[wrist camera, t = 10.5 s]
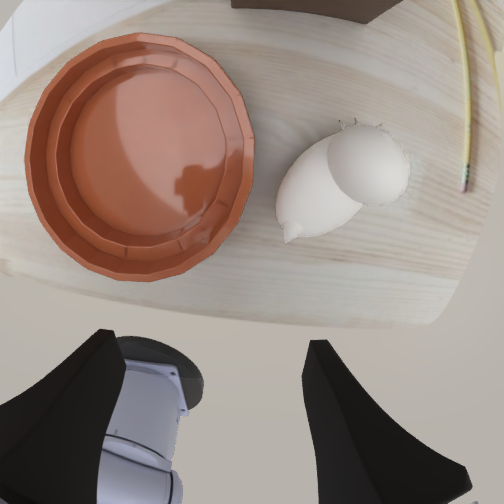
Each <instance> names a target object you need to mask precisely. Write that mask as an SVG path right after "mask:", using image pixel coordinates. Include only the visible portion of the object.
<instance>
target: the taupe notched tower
mask: <svg viewBox="0 0 504 504" xmlns="http://www.w3.org/2000/svg"><path fill="white" fill-rule="evenodd" d="M401 1H403V0H231V6H232V8H263V9H278V10H289V11H298V12H306V13H313V14H320V15H326V16H331V17H336V18H341V19H346V20H351V21H355V22H359V23H363V24H367V23H369V22H370V21H372V20H373V19H375V18H376V17H378V16H379V15H381V14H382V13H384V12H385V11H387V10H388V9H390V8H392V7H393V6H395V5H396V4H398V3H400V2H401Z"/></svg>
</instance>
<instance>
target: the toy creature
mask: <svg viewBox="0 0 504 504" xmlns="http://www.w3.org/2000/svg"><path fill="white" fill-rule="evenodd" d="M339 122H340V126H341V131H340V132H338V133H337V134H333V135H330V136H328V137H326V138H324V139H322V140H320V141H318V142H316V143H315V144H313V145H312V146H311V147H310V148H308V149H307V150H306V151H305V152H304V153H302V154H301V155H300V156H299V157H298V158H297V160H296V161H295V162H294V163H293V165H292V166H291V167H290V168H289V170H288V171H287V172H286V174H285V176H284V178H283V180H282V182H281V184H280V186H279V188H278V193H277V198H276V202H275V211H276V218H277V221H278V223H279V224H280V226H281V227H282V229H283V230H284V239H285V244H286V243H288V242H289V241H291V240H293V239H294V238H296V237H309V238H311V237H315V236H319V235H323V234H326V233H328V232H330V231H332V230H334V229H336V228H338V227H340V226H342V225H343V224H344V223H346V222H347V221H348V220H349V219H351V218H352V217H353V216H354V215H355V214H357V212H358V211H359V210H360V209H361V208H362V207H363V205H364V204H365V205H370V206H383V205H386V204H389V203H392V202H394V201H395V200H397V199H398V198H399V197H400V196H401V195H402V194H403V192H404V191H405V189H406V187H407V184H408V181H409V172H410V169H411V165H410V161H409V159H408V157H407V156H406V155H405V153H404V151H403V149H402V148H401V146H400V145H399V143H398V142H397V141H396V140H395V139H394V138H393V137H392V136H391V135H390V134H389V132H387V131H385V130H383V129H380V128H381V126H382V124H383V123H382V124H380V125H378V126H376V127H374V126H368V125H361V124H360V125H359V123H358V121H357V120H356V118H355V125H354V126H349V127H345V125H344V124H343V123H342V122H341V121H340V120H339Z"/></svg>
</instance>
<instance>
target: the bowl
mask: <svg viewBox="0 0 504 504" xmlns="http://www.w3.org/2000/svg"><path fill="white" fill-rule="evenodd" d="M254 150H255V138H254V133H253V129H252V126H251V123H250V119H249V116H248V113H247V110H246V106H245V103H244V100H243V97H242V95H241V93H240V91H239V90H238V89H237V87H236V86H235V85H234V83H233V82H232V81H231V79H230V78H229V77H228V75H227V74H226V73H225V72H224V70H223V69H222V68H221V67H220V65H219V64H218V63H217V62H216V60H214V59H213V58H212V57H210V56H209V55H207V54H205V53H204V52H202V51H200V50H199V49H197V48H195V47H193V46H192V45H190V44H188V43H186V42H185V41H183V40H181V39H178V38H175V37H169V36H162V35H155V34H148V33H133V34H128V35H124V36H119V37H115V38H111V39H107V40H103V41H101V42H98V43H97V44H95V45H93V46H91V47H90V48H88V49H87V50H85V51H83V52H82V53H80V54H79V55H77V56H76V57H74V58H73V59H71V60H70V61H68V62H67V63H66V64H65V65H64V67H63V68H62V69H61V70H60V71H59V72H58V74H57V75H56V76H55V77H54V78H53V79H52V81H51V82H50V83H49V84H48V86H47V87H46V88H45V89H44V91H43V93H42V95H41V97H40V99H39V102H38V104H37V106H36V108H35V111H34V113H33V116H32V118H31V120H30V124H29V128H28V134H27V141H26V148H25V157H24V158H25V159H24V161H25V171H26V179H27V186H28V192H29V195H30V198H31V201H32V203H33V206H34V208H35V210H36V213H37V215H38V218H39V220H40V222H41V223H42V225H43V227H44V228H45V229H46V231H47V232H48V233H49V235H50V236H51V237H52V239H53V240H54V241H55V243H56V244H57V245H58V246H59V248H60V249H61V250H62V251H64V252H65V253H66V254H67V255H69V256H70V257H71V258H73V259H74V260H75V261H77V262H78V263H79V264H81V265H82V266H84V267H85V268H87V269H88V270H91V271H94V272H96V273H99V274H102V275H104V276H107V277H110V278H112V279H115V280H120V281H137V282H152V281H156V280H160V279H164V278H168V277H172V276H175V275H179V274H182V273H184V272H186V271H188V270H189V269H191V268H192V267H194V266H195V265H197V264H198V263H200V262H201V261H203V260H205V259H206V258H208V257H209V256H211V255H212V254H213V253H215V251H216V250H217V249H218V248H219V246H220V245H221V244H222V242H223V241H224V240H225V239H226V237H227V236H228V235H229V234H230V232H231V231H232V230H233V229H234V227H235V226H236V225H237V224H238V222H239V220H240V217H241V214H242V212H243V209H244V206H245V203H246V201H247V198H248V195H249V193H250V190H251V187H252V185H253V178H254Z"/></svg>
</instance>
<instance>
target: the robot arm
mask: <svg viewBox="0 0 504 504" xmlns="http://www.w3.org/2000/svg"><path fill="white" fill-rule="evenodd" d="M302 386H303V396H304V403H305V408H306V412H307V417H308V422H309V426H310V431H311V435H312V440H313V445H314V450H315V456H316V465H317V478H318V494H319V495H318V496H319V504H447V503H449V502H451V501H453V500H455V499H456V498H458V497H460V496H462V495H463V494H465V493H467V492H468V491H470V490H471V489H472V483H471V480H470V478H469V475H468V472H467V470H466V468H465V466H462V465H460V464H458V463H456V462H454V461H452V460H450V459H448V458H446V457H444V456H442V455H441V454H439V453H437V452H435V451H434V450H432V449H431V448H429V447H427V446H426V445H425V444H423V443H422V442H420V441H419V440H418V439H416V438H415V437H414V436H412V435H411V434H410V433H408V432H407V431H406V430H404V429H403V428H402V427H401V426H400V425H399V424H398V423H396V422H395V421H394V420H393V419H392V418H391V417H390V416H389V415H388V414H387V413H386V412H385V411H384V410H382V408H381V407H380V406H379V405H378V404H377V403H376V402H375V401H374V400H373V399H372V398H371V396H370V395H369V394H368V393H367V392H366V391H365V389H364V388H363V387H362V386H361V385H360V383H359V382H358V381H357V380H356V378H355V377H354V376H353V375H352V373H351V372H350V371H349V369H348V368H347V367H346V365H345V364H344V363H343V361H342V360H341V358H340V357H339V356H338V354H337V353H336V351H335V350H334V349H333V347H332V346H331V344H330V343H329V341H328V340H310V343H309V348H308V352H307V357H306V360H305V365H304V369H303V373H302ZM188 415H189V411H188V407H187V404H186V400H185V396H184V392H183V388H182V384H181V380H180V376H179V371H178V368H177V366H175V365H172V364H162V363H153V362H145V361H138V360H130V359H124V358H123V356H122V353H121V350H120V348H119V345H118V342H117V339H116V337H115V334H114V331H113V330H106V329H99V330H98V331H97V332H95V333H94V334H93V335H92V336H91V337H90V338H89V339H88V340H86V341H85V342H84V343H83V344H82V345H81V346H80V347H79V348H78V349H76V350H75V351H74V352H73V353H72V354H71V355H70V356H69V357H67V358H66V359H65V360H64V361H63V362H62V363H61V364H60V365H58V366H57V367H56V368H55V369H54V370H52V371H51V372H50V373H49V374H47V375H46V376H45V377H44V378H43V379H41V380H40V381H39V382H37V383H36V384H35V385H33V386H32V387H30V388H29V389H27V390H26V391H24V392H23V393H21V394H20V395H18V396H16V397H14V398H13V399H11V400H9V401H7V402H6V403H4V404H2V405H0V504H181V503H182V496H183V486H182V481H181V479H180V477H179V476H178V474H177V472H176V471H174V470H171V465H172V461H170V460H171V459H172V457H173V454H174V449H175V443H176V437H177V431H178V425H179V419H180V416H188ZM471 504H478V502H477V501H475V502H473V503H471Z"/></svg>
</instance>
